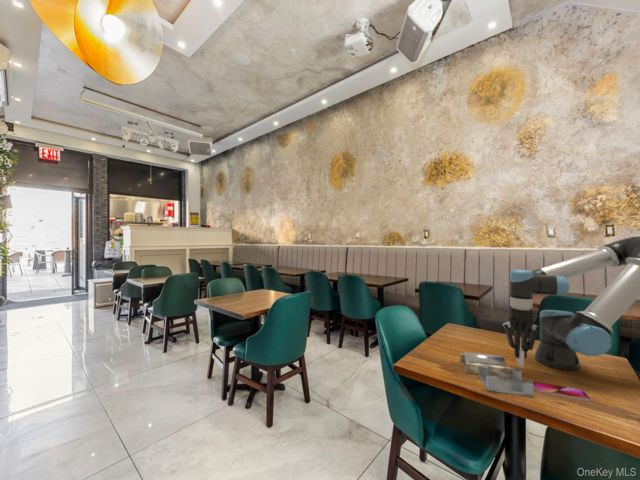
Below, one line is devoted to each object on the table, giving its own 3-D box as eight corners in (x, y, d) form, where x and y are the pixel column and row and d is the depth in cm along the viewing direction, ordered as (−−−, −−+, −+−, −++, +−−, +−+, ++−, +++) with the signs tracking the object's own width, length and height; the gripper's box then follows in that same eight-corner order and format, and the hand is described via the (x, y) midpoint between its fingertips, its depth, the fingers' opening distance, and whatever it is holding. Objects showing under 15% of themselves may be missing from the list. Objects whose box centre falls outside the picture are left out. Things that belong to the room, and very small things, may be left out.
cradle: (519, 380, 106) (519, 369, 106) (533, 396, 95) (533, 383, 95) (478, 376, 109) (478, 364, 109) (487, 390, 99) (488, 378, 99)
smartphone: (530, 380, 105) (582, 389, 99) (530, 383, 105) (582, 392, 99) (536, 390, 98) (592, 400, 92) (536, 393, 98) (592, 403, 92)
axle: (500, 367, 116) (500, 353, 116) (505, 374, 111) (505, 359, 111) (463, 363, 120) (463, 349, 120) (467, 369, 114) (467, 355, 114)
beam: (500, 366, 119) (500, 357, 119) (511, 379, 108) (511, 369, 108) (459, 361, 123) (459, 352, 123) (466, 373, 112) (466, 364, 112)
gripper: (535, 306, 114) (534, 363, 114) (499, 304, 117) (498, 359, 117) (544, 311, 107) (544, 372, 107) (506, 309, 110) (505, 367, 110)
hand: (520, 365), depth 112 cm, fingers closed
